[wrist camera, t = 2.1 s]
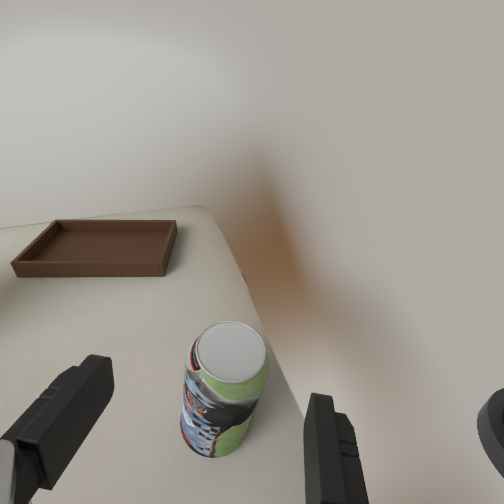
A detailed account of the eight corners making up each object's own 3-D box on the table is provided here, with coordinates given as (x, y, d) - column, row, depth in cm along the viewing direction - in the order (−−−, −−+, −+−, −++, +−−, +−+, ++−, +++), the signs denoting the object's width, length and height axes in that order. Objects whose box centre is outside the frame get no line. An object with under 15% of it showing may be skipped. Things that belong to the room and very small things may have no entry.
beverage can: (193, 390, 31) (182, 303, 24) (265, 402, 30) (274, 315, 23) (171, 460, 26) (149, 372, 19) (257, 475, 25) (266, 390, 18)
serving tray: (177, 232, 57) (176, 220, 55) (164, 276, 46) (161, 262, 44) (59, 232, 56) (55, 219, 54) (17, 277, 45) (9, 263, 43)
